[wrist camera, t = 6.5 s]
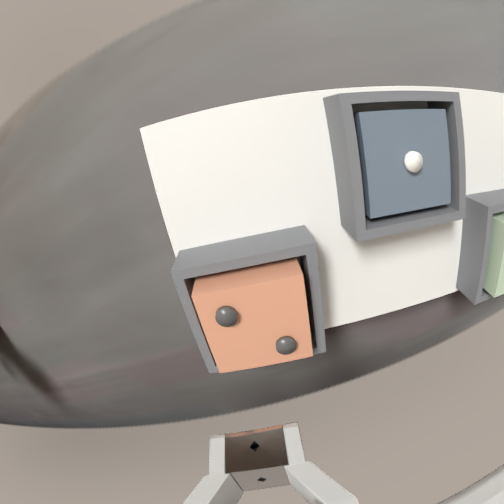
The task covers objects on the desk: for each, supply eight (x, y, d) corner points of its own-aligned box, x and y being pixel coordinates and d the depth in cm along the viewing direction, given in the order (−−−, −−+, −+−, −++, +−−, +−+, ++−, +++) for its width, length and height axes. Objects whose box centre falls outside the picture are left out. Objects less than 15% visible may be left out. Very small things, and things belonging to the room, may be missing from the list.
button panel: (493, 94, 15) (543, 98, 10) (492, 255, 21) (530, 283, 16) (155, 127, 16) (122, 129, 11) (211, 323, 22) (206, 378, 17)
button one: (424, 108, 13) (448, 109, 11) (431, 194, 15) (453, 204, 13) (343, 113, 14) (361, 112, 11) (355, 207, 16) (373, 220, 13)
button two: (295, 255, 15) (304, 277, 13) (306, 333, 17) (314, 360, 15) (196, 275, 15) (190, 299, 13) (221, 348, 17) (219, 377, 15)
